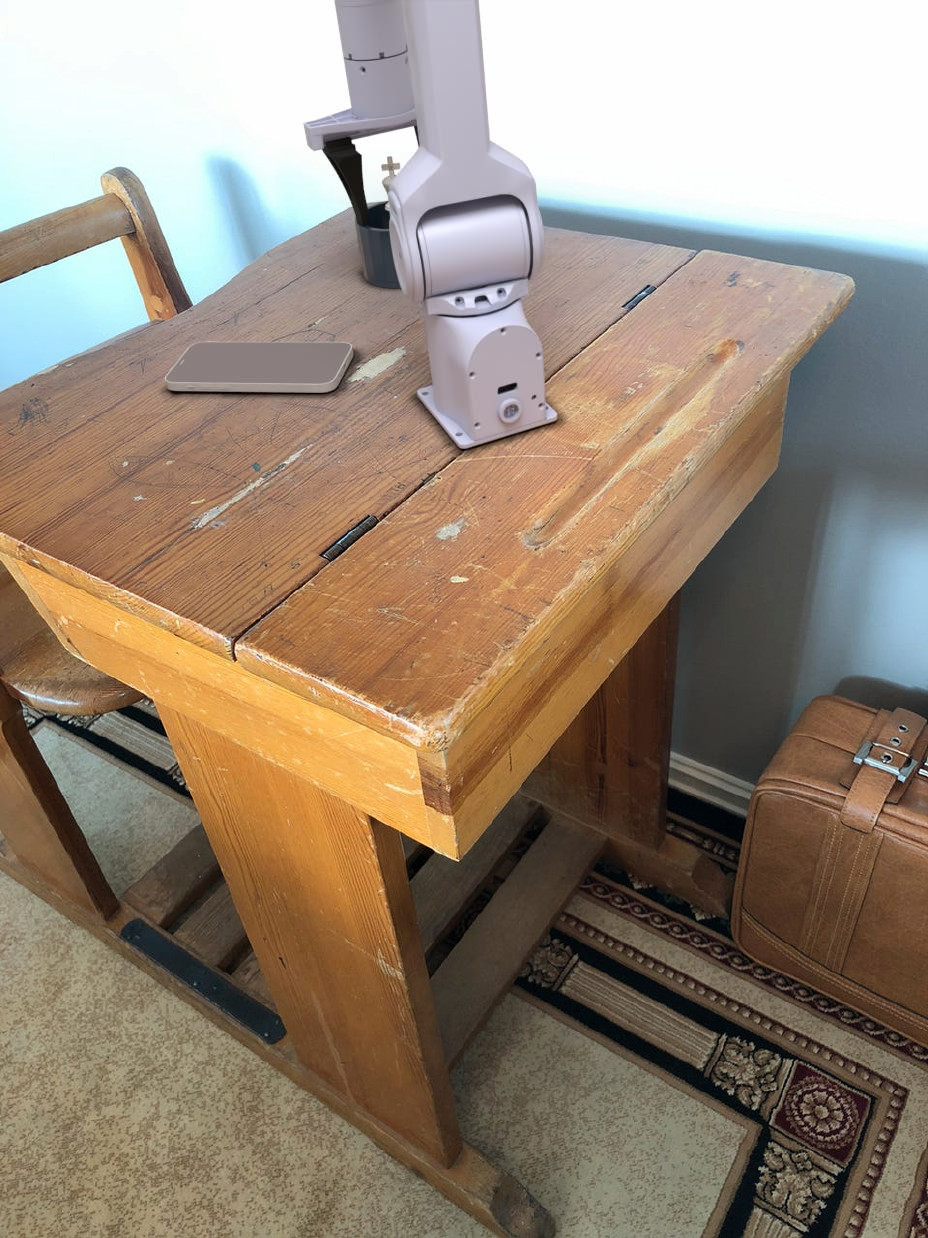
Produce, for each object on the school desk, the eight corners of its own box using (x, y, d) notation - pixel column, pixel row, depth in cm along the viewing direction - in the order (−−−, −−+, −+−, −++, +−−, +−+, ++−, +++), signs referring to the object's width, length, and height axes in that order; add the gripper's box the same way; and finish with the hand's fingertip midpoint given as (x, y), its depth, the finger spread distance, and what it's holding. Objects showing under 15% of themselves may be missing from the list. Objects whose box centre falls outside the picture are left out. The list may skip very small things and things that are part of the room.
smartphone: (332, 384, 78) (159, 382, 81) (334, 395, 79) (163, 392, 81) (355, 341, 83) (192, 341, 86) (357, 351, 84) (195, 350, 87)
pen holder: (461, 274, 94) (455, 216, 90) (380, 295, 92) (371, 237, 89) (430, 246, 100) (423, 191, 96) (353, 266, 98) (343, 210, 94)
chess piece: (427, 272, 94) (414, 163, 87) (377, 276, 94) (359, 168, 87) (430, 252, 97) (417, 146, 91) (382, 256, 98) (365, 150, 91)
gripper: (437, 28, 88) (452, 184, 97) (283, 59, 85) (314, 218, 94) (467, 42, 83) (480, 205, 92) (305, 75, 80) (335, 241, 89)
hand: (398, 213), depth 92 cm, fingers open, 7 cm apart
